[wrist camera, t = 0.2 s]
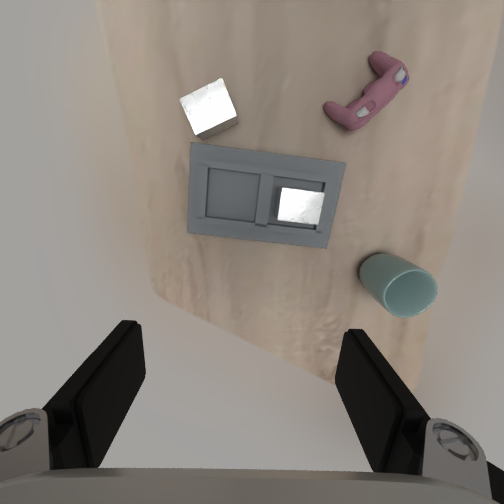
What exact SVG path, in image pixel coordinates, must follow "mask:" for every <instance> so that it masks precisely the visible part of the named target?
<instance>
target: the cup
mask: <svg viewBox="0 0 504 504" xmlns="http://www.w3.org/2000/svg"><path fill="white" fill-rule="evenodd" d="M359 276H360V279H361V282H362V284H363V286H364V287H365V289H366V290H367V291H368V292H369V293H370V294H371V296H372V297H373V298H374V299H375V300H376V301H377V302H378V303H379V304H380V305H381V306H383V307H384V308H385V309H386V310H387V311H388V312H390V313H391V314H392V315H394V316H397V317H401V318H408V317H412V316H415V315H418V314H420V313H422V312H423V311H425V310H426V309H427V308H428V307H429V306H431V304H432V303H433V302H434V300H435V298H436V295H437V284H436V281H435V279H434V278H433V277H432V275H431V274H429V273H428V272H427V271H426V270H424V269H422V268H420V267H418V266H416V265H415V264H413V263H411V262H409V261H407V260H405V259H403V258H400V257H398V256H395V255H392V254H387V253H380V254H375V255H373V256H371V257H369V258H368V259H366V260H365V261H364V262H363V264H362V265H361V267H360V271H359Z"/></svg>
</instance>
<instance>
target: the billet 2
mask: <svg viewBox="0 0 504 504" xmlns="http://www.w3.org/2000/svg"><path fill="white" fill-rule="evenodd" d="M324 194H325V193H321V192H317V191H310V190H302V189H294V188H286V187H278V190H277V197H276V203H275V210H274V216H275V217H276V218H277V220H283V221H291V222H299V223H308V224H316V225H318V223H319V218H320V213H321V208H322V204H323V199H324Z"/></svg>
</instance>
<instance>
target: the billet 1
mask: <svg viewBox="0 0 504 504" xmlns="http://www.w3.org/2000/svg"><path fill="white" fill-rule="evenodd" d="M180 102H181V104H182V106H183V108H184V110H185V113H186V115H187V117H188V119H189V122H190V124H191V126H192V128H193V130H194V133H195V135H196V136H197V137H199V138H200V139H201V140H202V141H203V140H205V139H207V138H209V137H211V136H213V135H215V134H217V133H219V132H221V131H223V130H226V129H228V128H230V127H232V126H234V125H236V124H238V120H237V115H236V112H235V110H234V107H233V105H232V102H231V100H230V97H229V95H228V92H227V90H226V87H225V84H224V82H223V79H222V78H220V79H218V80H216V81H214V82H212V83H210V84H208V85H206V86H204V87H202V88H200V89H198V90H196V91H195V92H193V93H191V94H189V95H187V96H185V97H183V98H181V99H180Z"/></svg>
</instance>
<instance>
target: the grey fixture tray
mask: <svg viewBox="0 0 504 504" xmlns="http://www.w3.org/2000/svg"><path fill="white" fill-rule="evenodd" d="M345 166H346V163H343V162H335V161H328V160H320V159H313V158H305V157H298V156H290V155H283V154H276V153H268V152H261V151H253V150H246V149H238V148H231V147H223V146H216V145H208V144H201V143H194V142H191V148H190V174H189V201H188V227H187V233H193V234H202V235H211V236H220V237H228V238H237V239H246V240H255V241H264V242H272V243H281V244H290V245H299V246H308V247H317V248H325V249H327V245H328V240H329V236H330V232H331V227H332V223H333V219H334V214H335V210H336V206H337V201H338V197H339V193H340V188H341V184H342V180H343V175H344V171H345ZM278 187H286V188H294V189H302V190H310V191H317V192H321V193H325V194H324V199H323V204H322V208H321V213H320V218H319V223H318V225H316V224H308V223H299V222H291V221H283V220H277V218H276V217H275V216H274V210H275V203H276V197H277V190H278Z"/></svg>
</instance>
